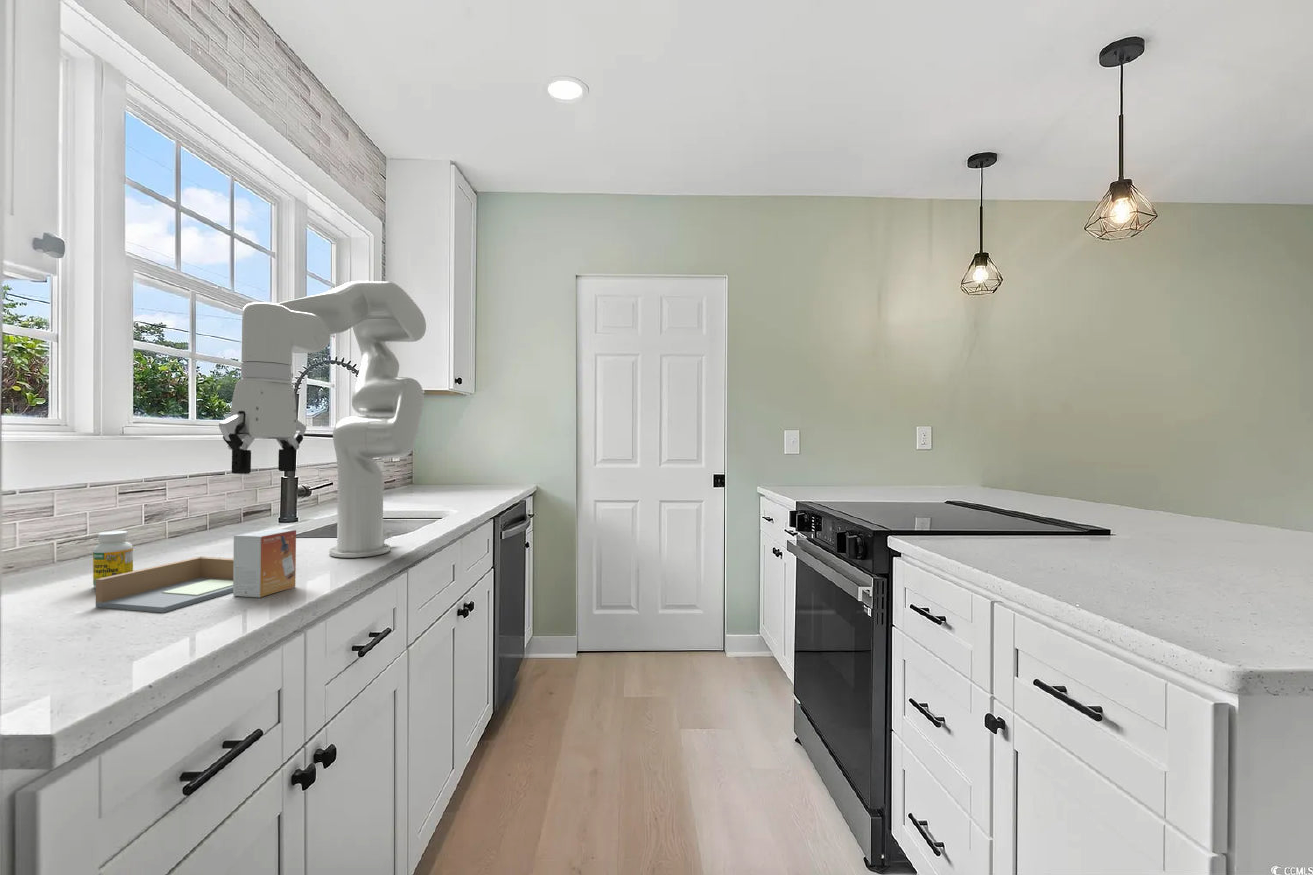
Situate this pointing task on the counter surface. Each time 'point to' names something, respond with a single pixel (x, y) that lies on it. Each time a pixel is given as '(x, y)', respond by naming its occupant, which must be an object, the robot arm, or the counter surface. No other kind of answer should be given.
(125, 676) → the counter surface
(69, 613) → the counter surface
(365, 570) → the counter surface
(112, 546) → the supplement bottle
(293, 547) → the small box
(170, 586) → the arena
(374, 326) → the robot arm
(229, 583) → the pad
